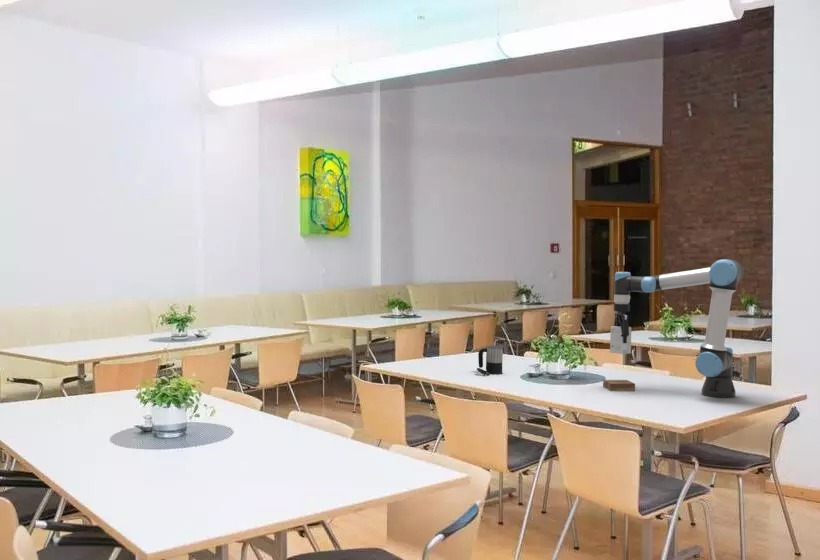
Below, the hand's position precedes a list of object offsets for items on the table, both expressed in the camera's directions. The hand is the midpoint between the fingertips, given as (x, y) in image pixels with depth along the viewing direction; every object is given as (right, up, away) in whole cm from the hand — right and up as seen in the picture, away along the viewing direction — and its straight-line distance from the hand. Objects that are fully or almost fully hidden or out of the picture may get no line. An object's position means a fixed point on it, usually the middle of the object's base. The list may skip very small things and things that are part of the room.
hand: (620, 348), depth 403 cm
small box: (0, -3, 0) cm, 2 cm away
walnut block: (-1, -20, -1) cm, 20 cm away
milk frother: (-60, -18, +42) cm, 75 cm away
